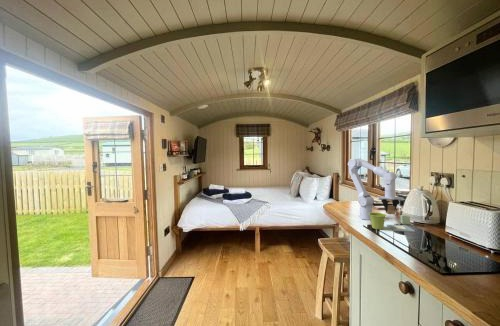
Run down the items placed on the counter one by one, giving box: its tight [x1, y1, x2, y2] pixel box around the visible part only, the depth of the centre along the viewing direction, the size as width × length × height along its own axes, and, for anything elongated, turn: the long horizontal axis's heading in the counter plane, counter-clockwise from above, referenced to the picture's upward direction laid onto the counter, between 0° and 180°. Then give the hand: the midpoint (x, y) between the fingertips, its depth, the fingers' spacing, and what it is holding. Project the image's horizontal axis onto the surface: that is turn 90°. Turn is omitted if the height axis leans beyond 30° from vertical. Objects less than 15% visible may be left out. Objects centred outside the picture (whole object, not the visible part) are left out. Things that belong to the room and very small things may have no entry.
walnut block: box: [385, 204, 396, 215], centre depth 145 cm, size 4×4×5 cm
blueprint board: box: [386, 224, 416, 233], centre depth 136 cm, size 11×11×1 cm
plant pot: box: [369, 212, 387, 231], centre depth 138 cm, size 9×9×9 cm
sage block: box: [399, 214, 411, 225], centre depth 146 cm, size 4×4×5 cm
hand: (390, 211), depth 146 cm, fingers closed on walnut block, 4 cm apart
